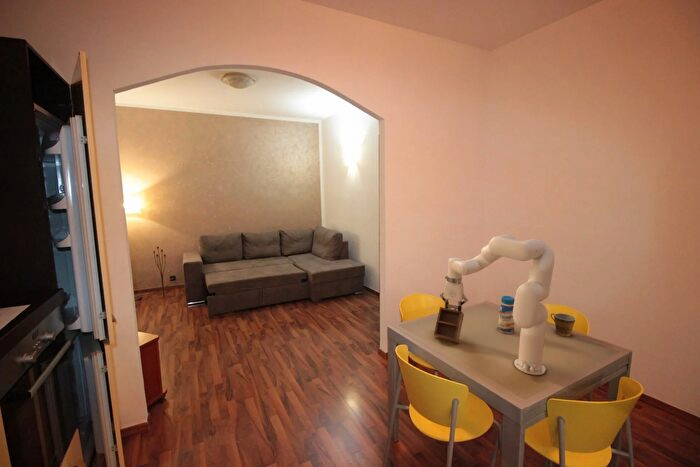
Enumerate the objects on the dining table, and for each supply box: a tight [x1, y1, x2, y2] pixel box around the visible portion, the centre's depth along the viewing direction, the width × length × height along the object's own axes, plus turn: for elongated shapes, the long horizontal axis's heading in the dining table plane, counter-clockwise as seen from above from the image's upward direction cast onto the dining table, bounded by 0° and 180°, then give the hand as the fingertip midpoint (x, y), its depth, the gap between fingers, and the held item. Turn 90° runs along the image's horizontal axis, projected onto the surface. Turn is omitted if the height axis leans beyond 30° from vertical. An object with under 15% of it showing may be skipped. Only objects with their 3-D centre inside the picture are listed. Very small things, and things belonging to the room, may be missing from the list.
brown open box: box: [433, 303, 465, 344], centre depth 176 cm, size 6×12×19 cm
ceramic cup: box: [550, 312, 576, 337], centre depth 181 cm, size 13×10×10 cm
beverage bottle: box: [497, 295, 515, 334], centre depth 183 cm, size 8×8×20 cm
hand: (453, 310), depth 180 cm, fingers closed on brown open box, 6 cm apart
